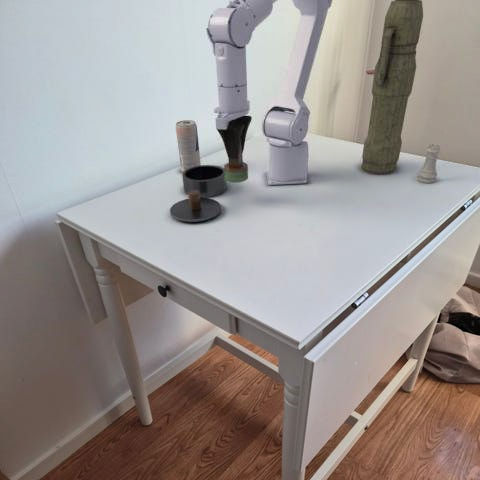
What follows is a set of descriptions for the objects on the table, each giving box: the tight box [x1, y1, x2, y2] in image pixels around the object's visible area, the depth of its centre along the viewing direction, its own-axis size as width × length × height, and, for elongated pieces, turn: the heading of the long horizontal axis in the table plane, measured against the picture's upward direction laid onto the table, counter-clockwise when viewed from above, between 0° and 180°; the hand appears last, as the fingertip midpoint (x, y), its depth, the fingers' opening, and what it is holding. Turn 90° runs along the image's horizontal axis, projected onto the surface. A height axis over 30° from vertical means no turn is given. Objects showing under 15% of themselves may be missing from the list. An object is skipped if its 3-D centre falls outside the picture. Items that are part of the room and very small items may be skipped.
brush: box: [223, 139, 249, 184], centre depth 91 cm, size 5×5×8 cm
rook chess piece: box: [416, 143, 442, 184], centre depth 99 cm, size 4×4×8 cm
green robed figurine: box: [360, 0, 424, 176], centre depth 98 cm, size 9×12×35 cm
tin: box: [181, 164, 228, 198], centre depth 102 cm, size 10×10×4 cm
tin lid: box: [169, 190, 222, 223], centre depth 92 cm, size 11×11×5 cm
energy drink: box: [175, 119, 202, 173], centre depth 110 cm, size 5×5×12 cm
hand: (235, 155), depth 91 cm, fingers closed on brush, 2 cm apart
